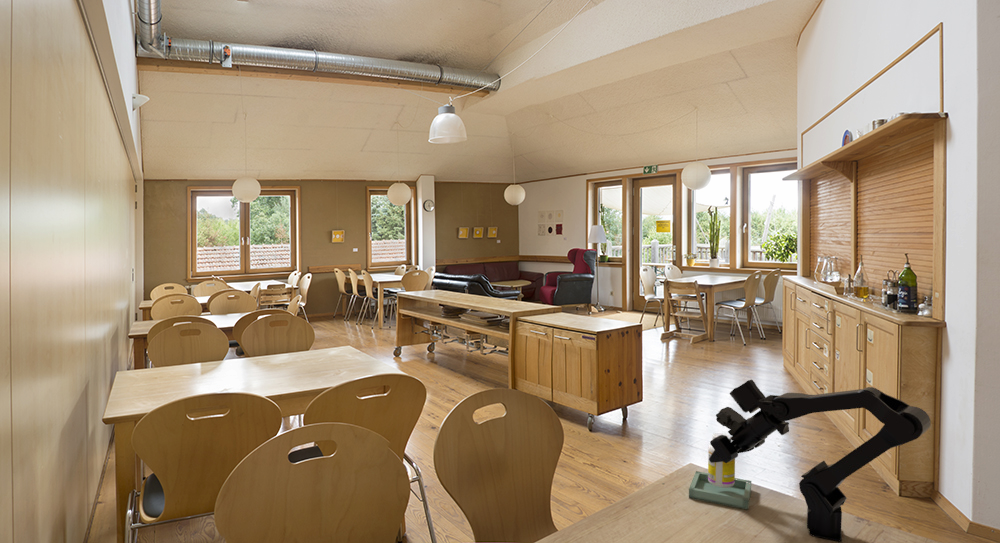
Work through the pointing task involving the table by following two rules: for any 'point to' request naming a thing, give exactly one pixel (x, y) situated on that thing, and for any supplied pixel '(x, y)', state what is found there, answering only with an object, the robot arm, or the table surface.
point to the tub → (720, 491)
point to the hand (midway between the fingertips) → (717, 457)
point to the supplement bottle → (721, 469)
